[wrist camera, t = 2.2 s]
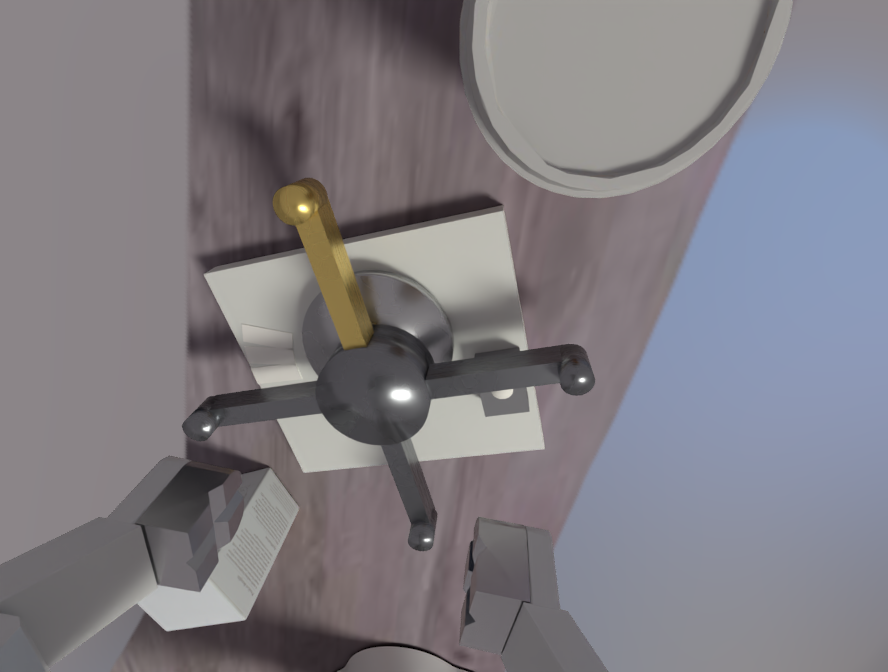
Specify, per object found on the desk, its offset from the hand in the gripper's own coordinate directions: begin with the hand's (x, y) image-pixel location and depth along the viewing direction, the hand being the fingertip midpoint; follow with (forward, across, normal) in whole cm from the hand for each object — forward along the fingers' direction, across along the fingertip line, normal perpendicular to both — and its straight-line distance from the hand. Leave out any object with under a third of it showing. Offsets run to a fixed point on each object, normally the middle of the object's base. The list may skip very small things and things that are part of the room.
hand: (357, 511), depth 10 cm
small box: (+21, +15, +28) cm, 38 cm away
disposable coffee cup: (+21, -4, -10) cm, 24 cm away
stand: (+21, +3, +10) cm, 24 cm away
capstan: (+19, +3, +9) cm, 21 cm away
